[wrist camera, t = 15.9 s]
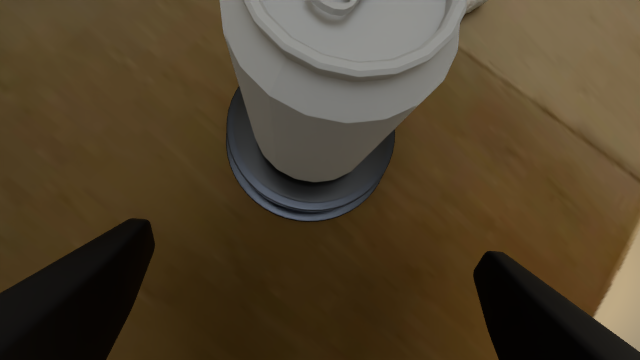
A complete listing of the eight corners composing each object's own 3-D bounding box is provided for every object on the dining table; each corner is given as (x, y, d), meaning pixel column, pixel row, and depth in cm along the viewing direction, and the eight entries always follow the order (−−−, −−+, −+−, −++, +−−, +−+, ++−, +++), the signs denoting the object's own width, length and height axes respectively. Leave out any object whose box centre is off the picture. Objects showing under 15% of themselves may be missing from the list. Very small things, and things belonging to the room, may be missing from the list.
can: (392, 119, 20) (543, -49, 8) (326, 209, 18) (399, 160, 7) (301, 52, 20) (326, -204, 8) (228, 136, 19) (133, -38, 7)
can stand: (410, 188, 23) (432, 180, 20) (259, 247, 21) (254, 249, 17) (352, 51, 24) (363, 22, 21) (206, 93, 22) (192, 68, 19)
